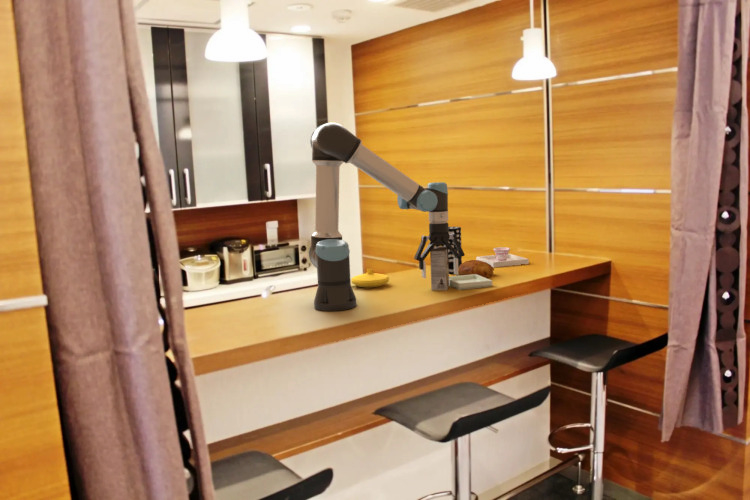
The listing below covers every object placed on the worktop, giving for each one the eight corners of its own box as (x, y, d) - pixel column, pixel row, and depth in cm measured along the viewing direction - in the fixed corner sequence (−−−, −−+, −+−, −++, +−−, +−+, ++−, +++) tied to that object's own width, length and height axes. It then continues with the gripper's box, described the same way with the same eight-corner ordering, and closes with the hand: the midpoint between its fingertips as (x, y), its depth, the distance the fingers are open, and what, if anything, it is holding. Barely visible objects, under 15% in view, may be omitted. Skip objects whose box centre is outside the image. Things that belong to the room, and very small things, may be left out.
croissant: (471, 285, 257) (472, 267, 255) (452, 274, 271) (452, 257, 268) (500, 280, 263) (501, 262, 260) (480, 270, 276) (480, 253, 274)
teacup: (486, 260, 300) (485, 247, 299) (510, 258, 301) (509, 246, 300) (494, 264, 288) (494, 251, 287) (519, 262, 289) (518, 249, 288)
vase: (370, 280, 266) (370, 264, 265) (397, 285, 254) (396, 268, 253) (343, 287, 255) (342, 270, 254) (370, 291, 244) (369, 274, 242)
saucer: (493, 267, 283) (493, 262, 283) (476, 261, 301) (476, 256, 300) (528, 264, 288) (528, 259, 288) (510, 258, 305) (510, 253, 305)
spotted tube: (465, 272, 275) (464, 227, 272) (451, 274, 270) (450, 229, 267) (453, 269, 282) (452, 226, 279) (439, 272, 277) (438, 228, 274)
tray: (459, 290, 239) (459, 283, 239) (444, 283, 254) (444, 277, 253) (492, 286, 243) (492, 280, 243) (475, 279, 257) (475, 274, 257)
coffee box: (433, 285, 250) (432, 246, 247) (449, 285, 248) (448, 245, 246) (431, 290, 241) (429, 249, 239) (447, 290, 240) (446, 249, 237)
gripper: (411, 225, 234) (413, 280, 237) (472, 220, 241) (473, 274, 244) (405, 223, 241) (407, 277, 244) (464, 219, 248) (465, 271, 251)
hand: (440, 276), depth 244 cm, fingers open, 13 cm apart
